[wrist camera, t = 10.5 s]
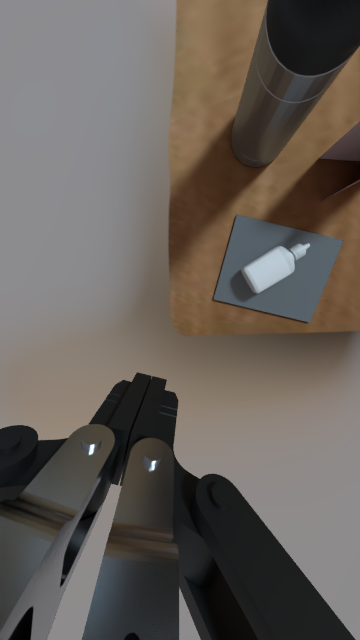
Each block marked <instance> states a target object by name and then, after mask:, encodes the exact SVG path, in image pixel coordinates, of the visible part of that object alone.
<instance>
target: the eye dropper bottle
mask: <svg viewBox="0 0 360 640" xmlns="http://www.w3.org/2000/svg"><path fill="white" fill-rule="evenodd" d="M309 247H310V244H309V243H307V244H305V245H302V244H297V245H295V246H293V247H292V248H290V249H289V250H287V249H286V248H284V247H282V246H278V247H275V248H273V249H272V250H270V251H268V252H267V253H265V254H263V255H262V256H260V257H259V258H257V259H255V260H254V261H252V262H251V263H249V264H248V265H246V266H244V267H243V268H242V269H241V272H242V274H243V276H244V278H245V280H246V282H247V284H248V285H249V287H250V288H251V290H252V291H253V292H254V293H256V294H258V293H260V292H262V291H264V290H265V289H267V288H269V287H270V286H272V285H274V284H276V283H277V282H279V281H281V280H282V279H284V278H286V277H287V276H289V275H290V274H292V273H293V272H294V269H295V264H294V261H296V260H298V259H300V258H301V257H303V256H305V255H306V250H307V249H308V248H309Z"/></svg>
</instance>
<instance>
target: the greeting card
mask: <svg viewBox="0 0 360 640" xmlns="http://www.w3.org/2000/svg"><path fill="white" fill-rule="evenodd" d="M319 158H320V159H334V160H349V161H360V122H359V123H358V124H357V125H355V126H354V127H353V128H352V129H351V130H350V131H349V132H348V133H346V134H345V135H344V136H343V137H342V138H341V139H340V140H339V141H337V142H336V143H335V144H334V145H333V146H332V147H331V148H330V149H328V150H327V151H326V152H325V153H324V154H323V155H322V156H321V157H319ZM359 181H360V179H359V180H357V181H356V182H354V183H352V184H350V185H349V186H347V187H345V188H344V189H346V188H348V187H350V186H352V185H354V184H355V183H357V182H359ZM344 189H342V190H344ZM342 190H340V191H342ZM340 191H338V192H337V193H339V192H340ZM337 193H335V194H337ZM335 194H333V195H335ZM333 195H332V196H333ZM330 197H331V196H330ZM328 198H329V197H328ZM326 199H327V198H326ZM323 201H324V200H323ZM321 202H322V201H321Z"/></svg>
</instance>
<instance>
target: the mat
mask: <svg viewBox="0 0 360 640" xmlns="http://www.w3.org/2000/svg"><path fill="white" fill-rule="evenodd" d="M307 243H309V244H310V247H309V248H308V249H307V250H306V255H305V256H303V257H301V258H300V259H298V260H296V261H294V264H295V269H294V272H293V273H292V274H290V275H289V276H287V277H286V278H284V279H282V280H281V281H279V282H277V283H276V284H274V285H272V286H270V287H269V288H267V289H265V290H264V291H262V292H260V293H258V294H256V293H254V292H253V291H252V290H251V288H250V287H249V285H248V284H247V282H246V280H245V278H244V276H243V274H242V272H241V269H242V268H243V267H244V266H246V265H248V264H249V263H251V262H252V261H254V260H255V259H257V258H259V257H260V256H262V255H263V254H265V253H267V252H268V251H270V250H272V249H273V248H275V247H278V246H282V247H284V248H286V249H287V250H289V249H290V248H292V247H293V246H295V245H297V244H302V245H305V244H307ZM342 243H343V240H340V239H336V238H332V237H328V236H324V235H319V234H315V233H311V232H307V231H303V230H298V229H294V228H290V227H286V226H282V225H278V224H273V223H269V222H265V221H261V220H257V219H252V218H248V217H244V216H240V215H236V219H235V222H234V226H233V230H232V233H231V237H230V241H229V244H228V248H227V251H226V255H225V259H224V262H223V266H222V269H221V273H220V277H219V280H218V284H217V288H216V291H215V295H214V298H213V299H214V300H218V301H222V302H226V303H231V304H235V305H239V306H243V307H247V308H251V309H255V310H260V311H264V312H268V313H272V314H276V315H280V316H284V317H289V318H293V319H297V320H301V321H305V322H309V323H310V321H311V319H312V316H313V314H314V311H315V309H316V306H317V304H318V302H319V299H320V297H321V294H322V292H323V289H324V287H325V284H326V282H327V280H328V277H329V275H330V272H331V270H332V267H333V265H334V262H335V260H336V258H337V255H338V253H339V250H340V248H341V245H342Z"/></svg>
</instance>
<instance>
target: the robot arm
mask: <svg viewBox="0 0 360 640" xmlns="http://www.w3.org/2000/svg"><path fill="white" fill-rule="evenodd" d="M359 46H360V0H268V2H267V6H266V9H265V13H264V16H263V20H262V24H261V27H260V31H259V34H258V39H257V42H256V46H255V49H254V53H253V56H252V60H251V64H250V67H249V71H248V74H247V78H246V82H245V85H244V89H243V92H242V96H241V100H240V103H239V107H238V110H237V113H236V117H235V121H234V124H233V128H232V132H231V145H232V149H233V152H234V154H235V156H236V157H237V158H238V159H239V161H240V162H242V163H243V164H245V165H247V166H250V167H261V166H264V165H267V164H268V163H270V162H272V161H273V160H274V159H275V158H276V157H277V156H278V155H279V153H280V152H281V151H282V149H283V148H284V147H285V145H286V144H287V143H288V142H289V140H290V139H291V138H292V136H293V135H294V134H295V132H296V131H297V130H298V128H299V127H300V126H301V124H302V123H303V122H304V120H305V119H306V117H307V116H308V115H309V113H310V112H311V111H312V109H313V108H314V107H315V105H316V104H317V103H318V101H319V100H320V99H321V97H322V96H323V95H324V93H325V92H326V91H327V89H328V88H329V87H330V85H331V84H332V83H333V81H334V80H335V78H336V77H337V76H338V74H339V73H340V72H341V70H342V69H343V68H344V66H345V65H346V64H347V62H348V61H349V59H350V58H351V57H352V55H353V54H354V53H355V51H356V50H357V49H358V47H359ZM166 381H167V380H166V379H162V378H158V377H154V376H153V377H152V379H151V376H149V375H146V374H141V373H137V374H136V375H135V377H134V379H133V381H132V382H129V381H125V380H122V381H121V382H119V383H117V384H116V385H115V386H114V387H113V389H112V390H111V392H110V394H109V395H108V396H107V398H106V400H105V401H104V402H103V404H102V405H101V407H100V408H99V409H98V411H97V412H96V414H95V416H94V417H93V418H92V420H91V422H90V423H89V425H86V426H83V427H81V428H79V429H77V430H76V431H74V432H73V433H72V434H71V435H70V437H69V438H66V439H60V440H40V441H39V440H38V434H37V432H36V431H35V430H34V429H33V428H31V427H28V426H24V425H17V426H9V427H5V428H2V429H0V640H47V637H48V635H49V633H50V629H51V627H52V625H53V622H54V619H55V616H56V613H57V610H58V607H59V604H60V601H61V599H62V596H63V593H64V591H65V589H66V587H67V584H68V582H69V580H70V578H71V575H72V573H73V571H74V569H75V567H76V564H77V562H78V560H79V558H80V556H81V553H82V551H83V549H84V547H85V545H86V543H87V540H88V538H89V536H90V534H91V531H92V529H93V527H94V525H95V523H96V520H97V518H98V516H99V514H100V512H101V509H102V505H103V502H104V500H105V498H106V496H107V493H108V491H109V488H110V485H111V484H115V485H118V483H119V481H120V478H121V475H122V478H121V483H120V486H122V488H121V492H120V495H119V499H118V503H117V507H116V511H115V515H114V519H113V523H112V527H111V531H110V533H109V537H108V541H107V544H106V548H105V552H104V555H103V559H102V563H101V567H100V571H99V575H98V579H97V583H96V587H95V591H94V595H93V598H92V602H91V606H90V611H89V614H88V618H87V622H86V626H85V630H84V633H83V637H82V640H179V587H180V589H181V592H182V594H183V597H184V599H185V601H186V604H187V607H188V609H189V611H190V614H191V616H192V619H193V621H194V624H195V626H196V629H197V631H198V634H199V636H200V638H201V640H355V639H354V637H353V636H352V635H351V634H350V632H349V631H348V630H347V628H346V627H345V626H344V624H343V623H342V622H341V621H340V619H338V617H337V616H336V615H335V613H334V612H333V610H332V609H331V608H330V607H329V605H328V604H327V603H326V602H325V600H324V599H323V598H322V596H321V595H320V594H319V593H318V591H317V590H316V589H315V588H314V586H313V585H312V584H311V582H310V581H309V580H308V579H307V577H306V576H305V575H304V573H303V572H302V571H301V570H300V568H299V567H298V566H297V565H296V563H295V562H294V561H293V559H292V558H291V557H290V556H289V554H288V553H287V552H286V551H285V549H284V548H283V547H282V545H281V544H280V543H279V542H278V540H277V539H276V538H275V537H274V535H273V534H272V533H271V531H270V530H269V529H268V528H267V526H266V525H265V524H264V522H263V521H262V520H261V519H260V517H259V516H258V515H257V514H256V512H255V511H254V510H253V509H252V507H251V506H250V505H249V503H248V502H247V501H246V500H245V498H244V497H243V496H242V494H241V493H240V492H239V491H238V489H237V488H236V487H235V486H234V485H233V484H232V483H231V482H230V481H229V480H228V479H226V478H225V477H223V476H220V475H217V474H208V475H205V476H203V477H202V478H201V479H199V478H197V477H195V476H194V475H192V474H191V473H189V472H188V471H186V470H185V469H184V468H183V467H182V466H181V465H180V464H179V463H178V461H177V460H176V458H175V455H174V451H173V444H174V436H175V427H176V417H177V409H178V399H177V396H176V394H175V393H174V392H170V391H166V390H164V389H165V385H166ZM122 472H123V473H122Z"/></svg>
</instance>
